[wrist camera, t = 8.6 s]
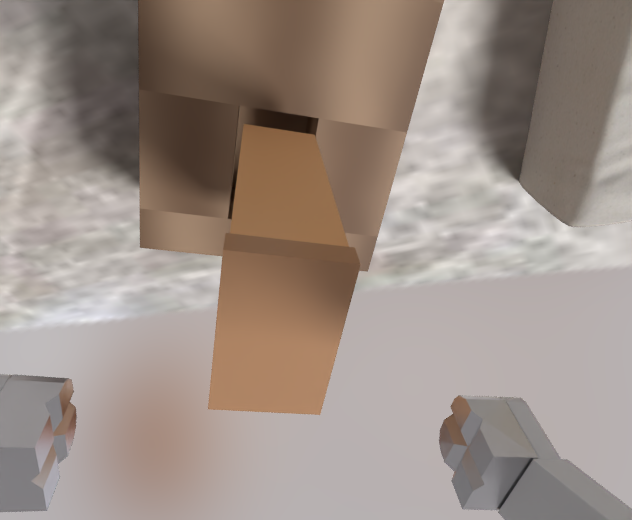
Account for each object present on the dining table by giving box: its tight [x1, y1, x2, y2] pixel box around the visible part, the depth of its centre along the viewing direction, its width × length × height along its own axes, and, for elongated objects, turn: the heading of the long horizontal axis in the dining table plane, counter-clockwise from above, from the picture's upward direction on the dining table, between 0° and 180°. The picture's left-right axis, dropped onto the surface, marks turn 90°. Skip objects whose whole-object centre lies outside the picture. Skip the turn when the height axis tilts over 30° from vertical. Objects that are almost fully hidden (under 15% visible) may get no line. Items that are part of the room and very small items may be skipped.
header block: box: [138, 0, 444, 271], centre depth 22 cm, size 12×21×6 cm, turn 170°
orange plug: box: [208, 124, 361, 415], centre depth 17 cm, size 3×5×10 cm, turn 170°
